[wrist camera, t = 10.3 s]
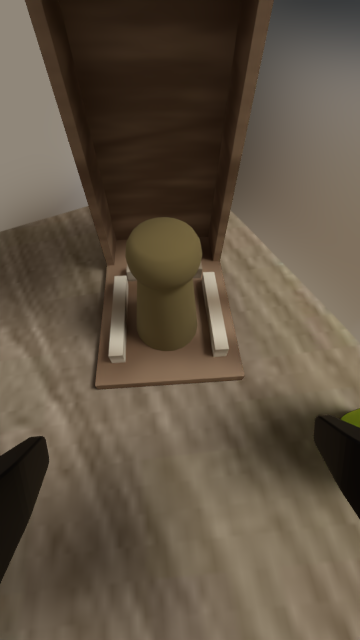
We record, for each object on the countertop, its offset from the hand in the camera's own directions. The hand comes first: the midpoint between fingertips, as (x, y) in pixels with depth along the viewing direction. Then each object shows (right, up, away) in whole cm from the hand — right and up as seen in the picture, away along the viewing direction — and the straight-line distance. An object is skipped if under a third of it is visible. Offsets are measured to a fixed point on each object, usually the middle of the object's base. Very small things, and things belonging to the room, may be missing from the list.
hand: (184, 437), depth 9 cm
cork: (-1, +3, +17) cm, 18 cm away
